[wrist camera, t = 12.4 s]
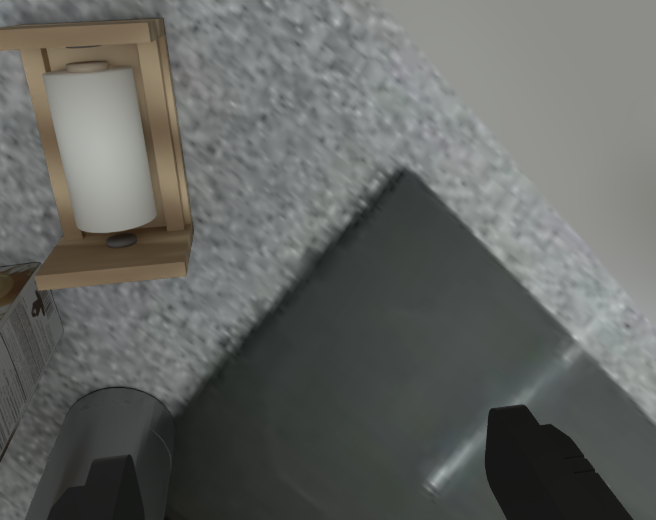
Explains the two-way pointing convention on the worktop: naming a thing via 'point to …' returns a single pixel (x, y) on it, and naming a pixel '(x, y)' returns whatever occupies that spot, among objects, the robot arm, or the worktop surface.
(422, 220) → the worktop surface
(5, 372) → the coffee box
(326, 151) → the worktop surface
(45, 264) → the holder
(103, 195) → the roll
